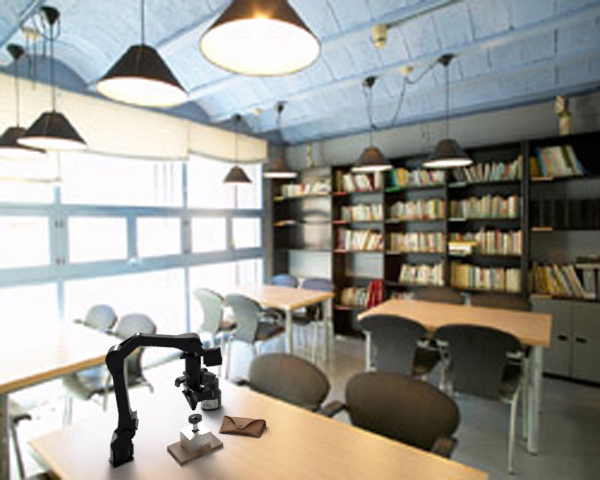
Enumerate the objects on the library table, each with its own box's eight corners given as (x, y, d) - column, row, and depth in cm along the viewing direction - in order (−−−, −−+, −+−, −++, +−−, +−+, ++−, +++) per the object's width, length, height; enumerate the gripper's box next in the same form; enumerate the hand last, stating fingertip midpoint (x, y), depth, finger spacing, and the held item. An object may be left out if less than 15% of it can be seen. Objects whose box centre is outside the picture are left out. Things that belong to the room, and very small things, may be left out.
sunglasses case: (216, 433, 140) (219, 414, 143) (221, 433, 146) (224, 415, 149) (261, 438, 137) (263, 418, 140) (265, 437, 143) (267, 419, 146)
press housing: (190, 454, 125) (189, 439, 125) (180, 444, 131) (180, 429, 131) (210, 445, 131) (210, 430, 131) (200, 435, 137) (200, 421, 136)
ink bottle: (196, 409, 158) (196, 382, 157) (207, 400, 166) (206, 374, 166) (215, 413, 155) (215, 385, 155) (225, 403, 164) (225, 377, 163)
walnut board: (181, 465, 121) (181, 462, 121) (167, 449, 130) (167, 446, 130) (223, 446, 132) (223, 443, 132) (207, 432, 141) (207, 429, 141)
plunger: (192, 439, 127) (192, 422, 127) (186, 433, 131) (186, 416, 131) (204, 433, 131) (204, 417, 130) (198, 428, 134) (198, 412, 134)
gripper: (226, 369, 130) (226, 411, 131) (200, 356, 144) (201, 394, 145) (197, 379, 123) (198, 423, 123) (173, 363, 136) (174, 403, 137)
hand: (193, 410), depth 132 cm, fingers closed
